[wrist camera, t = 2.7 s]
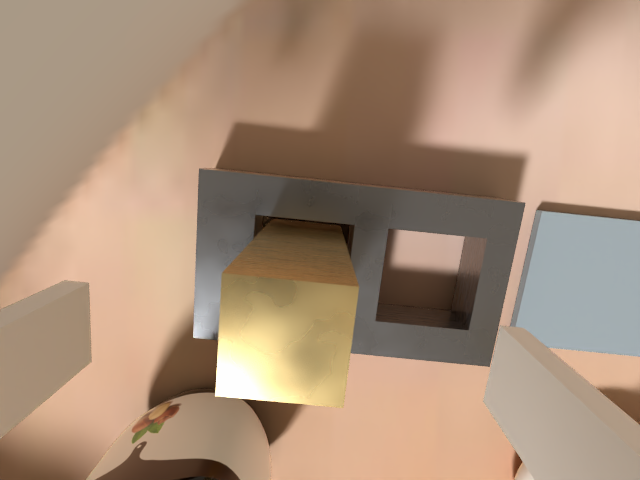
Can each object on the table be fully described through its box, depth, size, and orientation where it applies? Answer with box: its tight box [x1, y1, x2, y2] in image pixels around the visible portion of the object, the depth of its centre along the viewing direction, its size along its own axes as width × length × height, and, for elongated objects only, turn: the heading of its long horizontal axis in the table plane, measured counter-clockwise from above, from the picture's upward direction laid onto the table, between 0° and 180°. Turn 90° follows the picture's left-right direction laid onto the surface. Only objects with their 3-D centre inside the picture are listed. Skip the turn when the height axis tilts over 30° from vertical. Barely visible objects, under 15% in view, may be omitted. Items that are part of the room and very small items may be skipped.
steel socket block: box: [193, 168, 525, 367], centre depth 22 cm, size 18×10×3 cm, turn 84°
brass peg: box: [216, 219, 359, 408], centre depth 18 cm, size 4×4×12 cm
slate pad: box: [510, 210, 640, 357], centre depth 24 cm, size 9×9×1 cm
